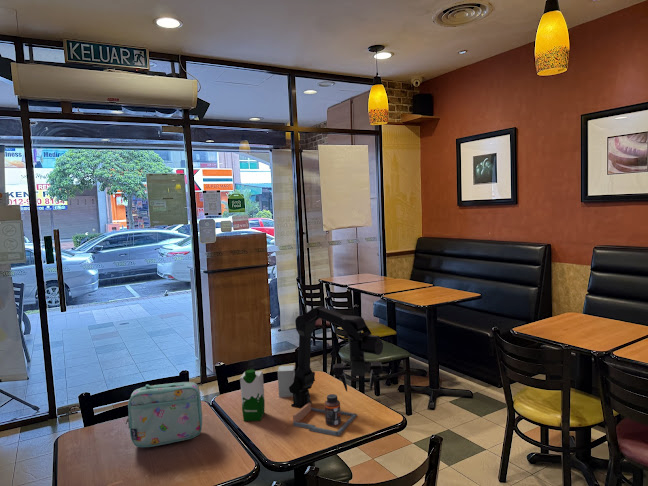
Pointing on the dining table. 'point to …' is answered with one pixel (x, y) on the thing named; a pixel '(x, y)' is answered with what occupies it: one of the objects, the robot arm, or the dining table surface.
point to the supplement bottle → (332, 411)
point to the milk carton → (252, 395)
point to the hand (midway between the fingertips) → (358, 390)
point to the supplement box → (285, 380)
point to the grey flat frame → (303, 413)
